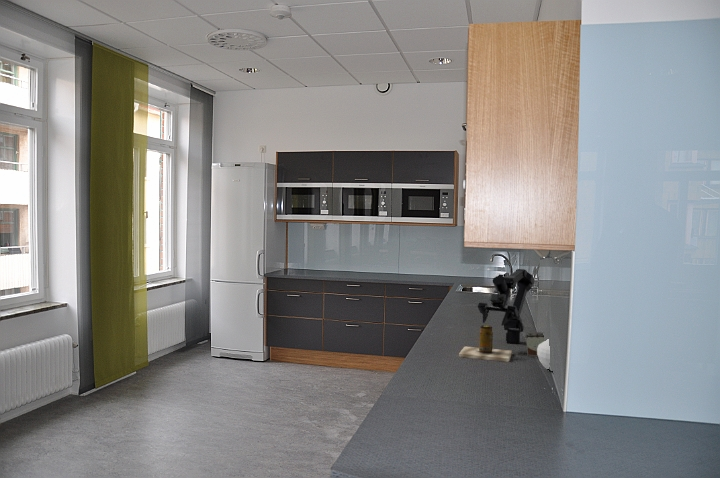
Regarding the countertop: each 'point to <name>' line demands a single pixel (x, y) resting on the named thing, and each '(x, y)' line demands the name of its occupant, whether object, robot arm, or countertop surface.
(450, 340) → the countertop surface
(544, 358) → the vase
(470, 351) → the birch board
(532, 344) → the food container
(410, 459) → the countertop surface
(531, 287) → the robot arm
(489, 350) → the condiment
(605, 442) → the countertop surface
